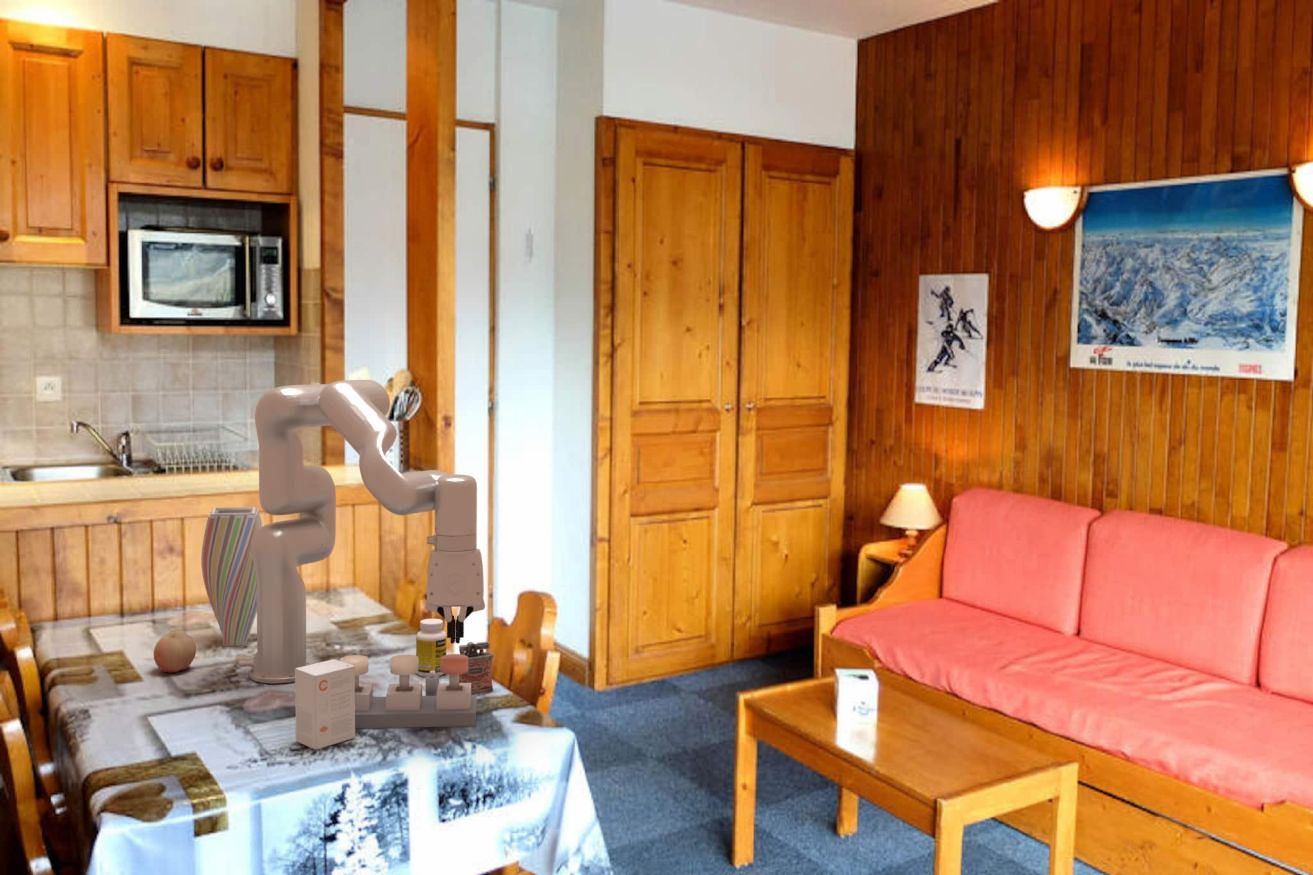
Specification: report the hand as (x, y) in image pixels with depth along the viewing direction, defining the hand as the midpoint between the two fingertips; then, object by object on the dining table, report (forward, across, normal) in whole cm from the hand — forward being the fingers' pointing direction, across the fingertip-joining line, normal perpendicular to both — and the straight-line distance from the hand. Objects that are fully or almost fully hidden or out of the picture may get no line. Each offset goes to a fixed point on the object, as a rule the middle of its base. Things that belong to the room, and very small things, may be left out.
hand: (455, 641), depth 209 cm
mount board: (+14, -9, 0) cm, 17 cm away
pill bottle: (+14, -6, +28) cm, 32 cm away
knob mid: (+9, -9, 0) cm, 13 cm away
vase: (+14, -51, +53) cm, 75 cm away
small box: (+14, -22, -10) cm, 28 cm away
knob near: (+8, -18, 0) cm, 20 cm away
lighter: (+14, +3, +15) cm, 21 cm away
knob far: (+8, 0, 0) cm, 8 cm away
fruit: (+14, -58, +32) cm, 68 cm away
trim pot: (+14, -5, +9) cm, 17 cm away
